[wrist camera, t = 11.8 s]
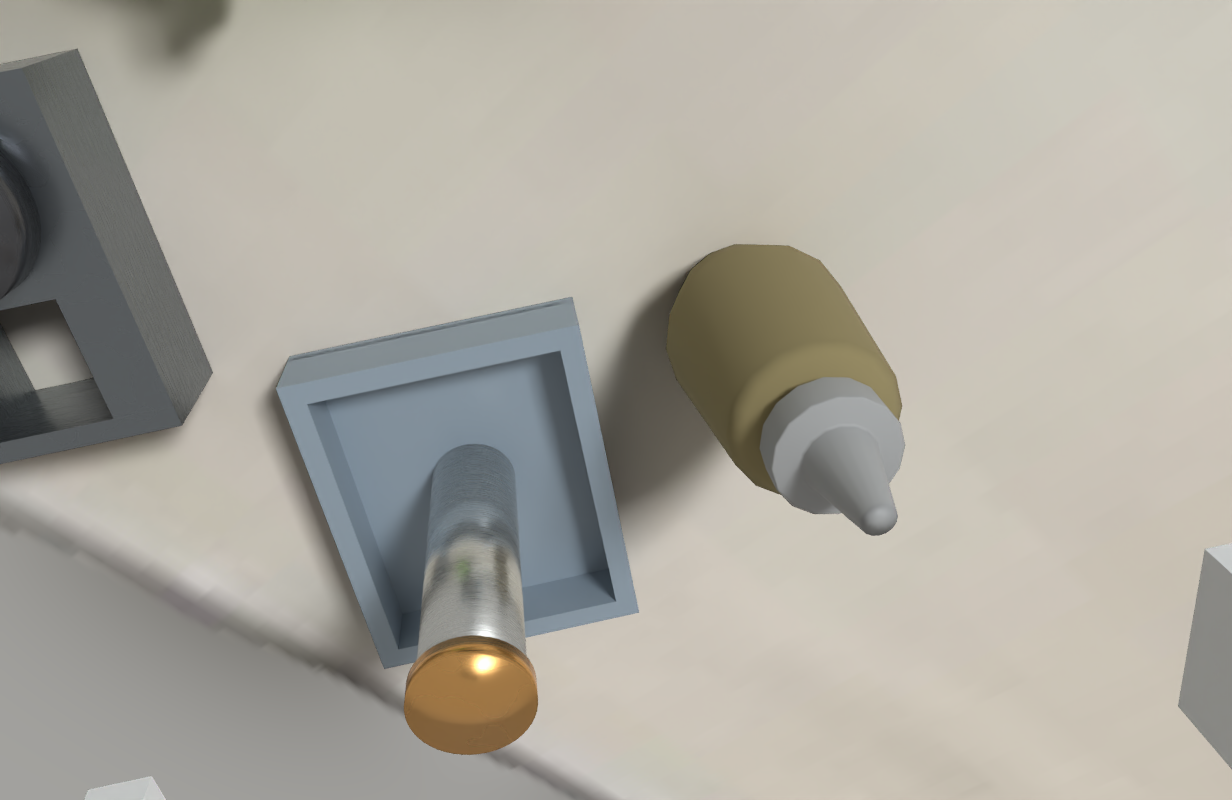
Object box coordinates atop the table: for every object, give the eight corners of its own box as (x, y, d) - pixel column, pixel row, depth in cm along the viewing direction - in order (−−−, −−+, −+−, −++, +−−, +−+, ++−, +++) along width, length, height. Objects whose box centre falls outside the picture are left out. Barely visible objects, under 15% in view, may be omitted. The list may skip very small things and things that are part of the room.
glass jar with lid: (414, 449, 45) (387, 672, 32) (510, 429, 45) (522, 642, 32) (439, 527, 47) (424, 766, 34) (530, 508, 48) (549, 738, 34)
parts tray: (289, 356, 43) (276, 388, 40) (572, 296, 43) (578, 324, 41) (389, 625, 51) (384, 668, 48) (629, 572, 51) (639, 612, 48)
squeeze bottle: (701, 409, 47) (813, 664, 31) (620, 277, 43) (700, 489, 27) (848, 327, 46) (1041, 547, 30) (778, 184, 42) (956, 349, 26)
